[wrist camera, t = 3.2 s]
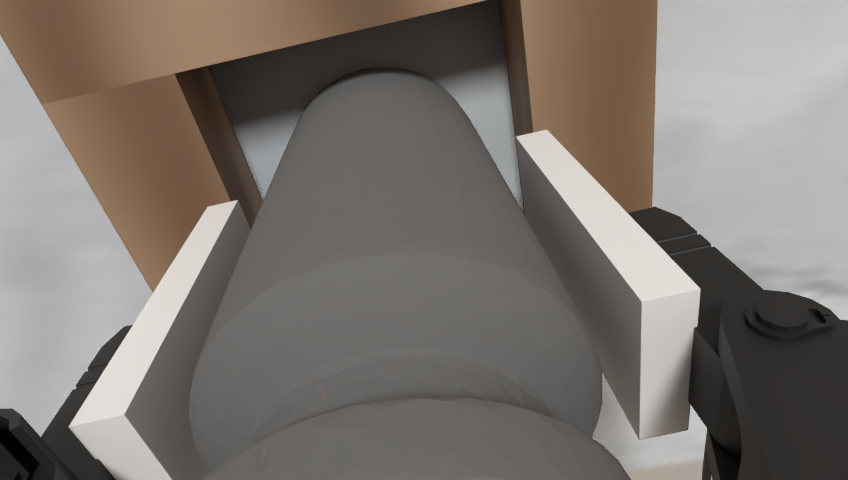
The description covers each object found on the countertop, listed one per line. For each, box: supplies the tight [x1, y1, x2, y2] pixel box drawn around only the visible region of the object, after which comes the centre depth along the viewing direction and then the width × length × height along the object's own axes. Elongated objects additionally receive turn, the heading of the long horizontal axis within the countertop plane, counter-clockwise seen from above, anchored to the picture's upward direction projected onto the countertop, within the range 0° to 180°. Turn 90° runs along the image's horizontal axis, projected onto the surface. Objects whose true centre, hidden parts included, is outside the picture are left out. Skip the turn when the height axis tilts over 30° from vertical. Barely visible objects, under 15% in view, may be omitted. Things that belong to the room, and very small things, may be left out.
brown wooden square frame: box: [0, 0, 657, 292], centre depth 15 cm, size 15×15×2 cm
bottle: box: [189, 68, 631, 480], centre depth 10 cm, size 6×6×15 cm
